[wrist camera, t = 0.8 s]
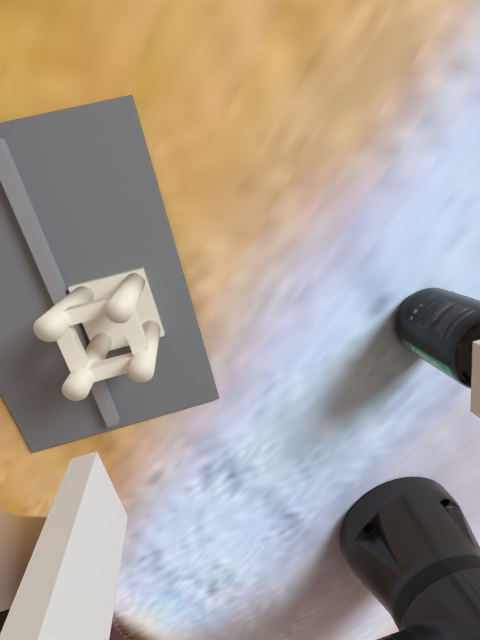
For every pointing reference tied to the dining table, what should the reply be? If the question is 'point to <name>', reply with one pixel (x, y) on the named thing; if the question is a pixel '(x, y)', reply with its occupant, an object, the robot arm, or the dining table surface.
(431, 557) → the robot arm
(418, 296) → the supplement bottle
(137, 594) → the dining table surface
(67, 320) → the stool
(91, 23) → the dining table surface
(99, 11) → the dining table surface
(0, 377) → the board
